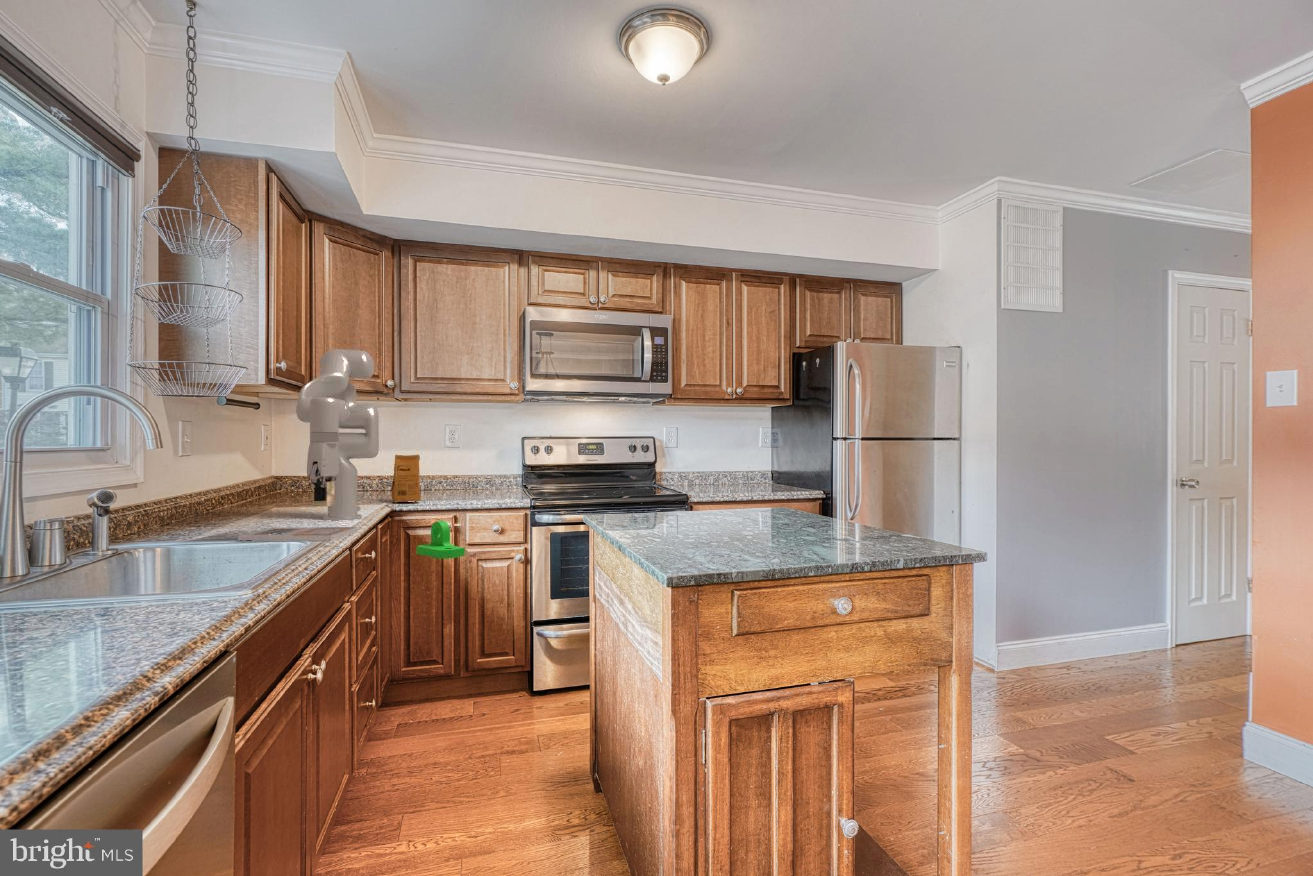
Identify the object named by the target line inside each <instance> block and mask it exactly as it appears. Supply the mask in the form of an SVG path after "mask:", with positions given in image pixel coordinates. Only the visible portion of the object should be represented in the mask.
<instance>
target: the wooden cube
mask: <svg viewBox="0 0 1313 876" xmlns="http://www.w3.org/2000/svg"><path fill="white" fill-rule="evenodd" d="M324 487H326V501H314V500H313V507H328V506H331V505H334V482H325V486H324Z"/></svg>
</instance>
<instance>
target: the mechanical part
mask: <svg viewBox="0 0 1313 876" xmlns="http://www.w3.org/2000/svg"><path fill="white" fill-rule="evenodd" d="M465 554H466V547H463V546H462V547H461V546H456V545H452V543H451V529H450V526H449V524H448V522H447V521H446V520H439V521H434V522H433V523H432V525H431V529H430V543H429V544H428V543H427V544H426V543H425V544H421V545H416V555H420V556H425V557H430V558H434V559H443V560H447V559H455V558H461V557H466V555H465Z"/></svg>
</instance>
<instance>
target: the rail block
mask: <svg viewBox="0 0 1313 876" xmlns="http://www.w3.org/2000/svg"><path fill="white" fill-rule="evenodd" d="M271 533H283V534H271ZM356 533H358V527H356V526H355V527H354V526H343V527H342V526H325V527H324V526H323V527H321V526H319V527H316V526H315V527H314V526H313V527H270V528H266V529H265V528H264V529H262V530H258V531H253V532H249V533H244V534H241V535H238V536H237V541H238V540H255V541H254V542H323V541H324V542H331V541H334V540H337V539H340V538H344V537H347V536H350V535H353V534H356ZM269 534H271V535H269ZM256 540H257V541H256Z"/></svg>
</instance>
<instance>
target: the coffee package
mask: <svg viewBox="0 0 1313 876" xmlns="http://www.w3.org/2000/svg"><path fill="white" fill-rule="evenodd" d="M420 460H421V456H420V454H408V455H406V454H405V455H403V454H402V455H401V454H395V455H394V463H393V465H394V467H393V479H392V483H391V491H390V492H391V502H408V501H419V502H420V501H421V497H422V496H421V487H420Z"/></svg>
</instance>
